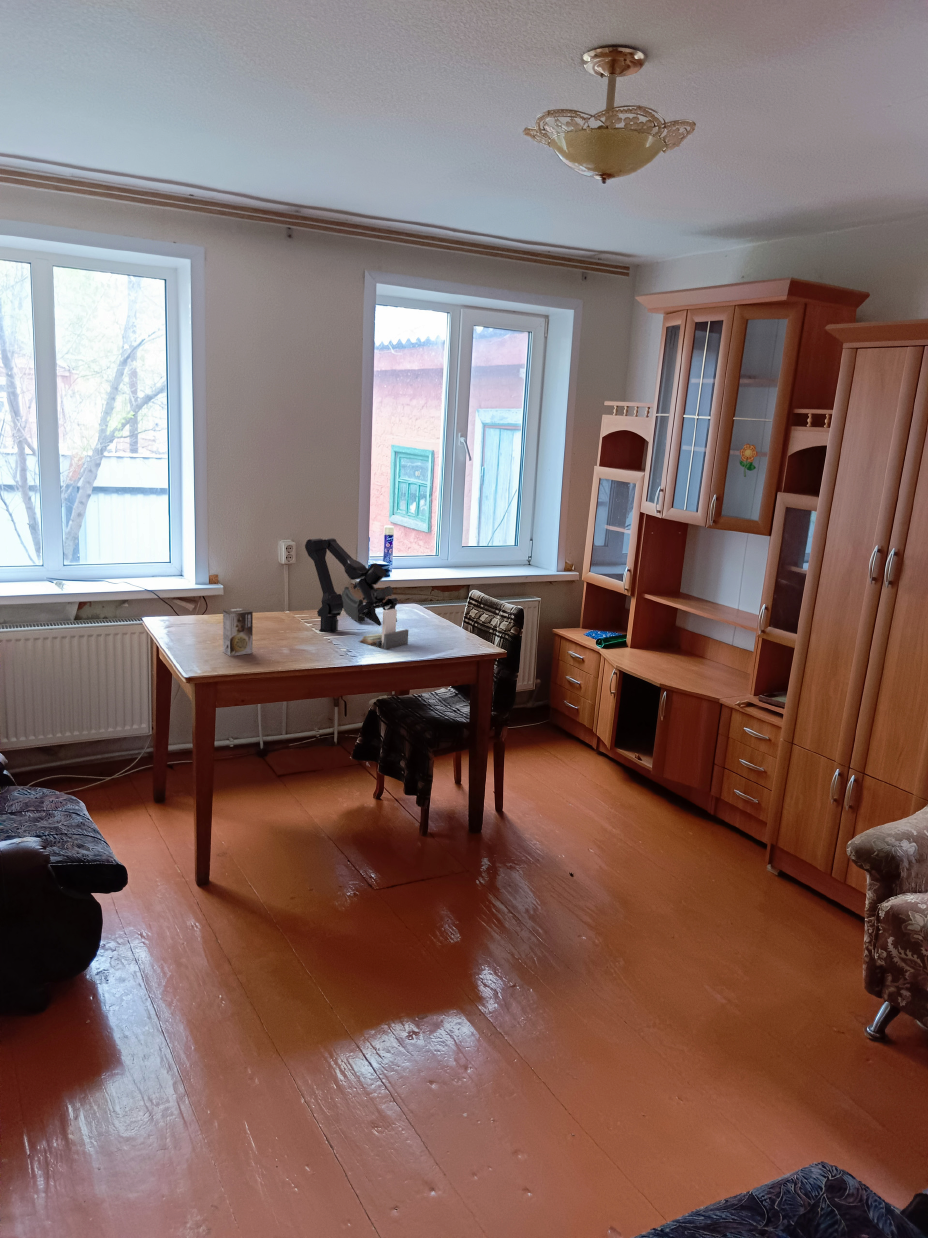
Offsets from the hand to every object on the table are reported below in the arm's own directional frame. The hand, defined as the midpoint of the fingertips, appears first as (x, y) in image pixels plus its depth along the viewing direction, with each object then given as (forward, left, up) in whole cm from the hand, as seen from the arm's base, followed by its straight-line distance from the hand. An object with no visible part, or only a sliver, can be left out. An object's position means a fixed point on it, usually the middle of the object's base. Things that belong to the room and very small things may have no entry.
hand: (388, 623), depth 344 cm
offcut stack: (-6, +3, -8) cm, 11 cm away
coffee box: (-50, -30, -10) cm, 59 cm away
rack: (-2, +1, -9) cm, 10 cm away
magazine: (-27, +46, -10) cm, 54 cm away
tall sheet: (0, 0, -8) cm, 8 cm away
